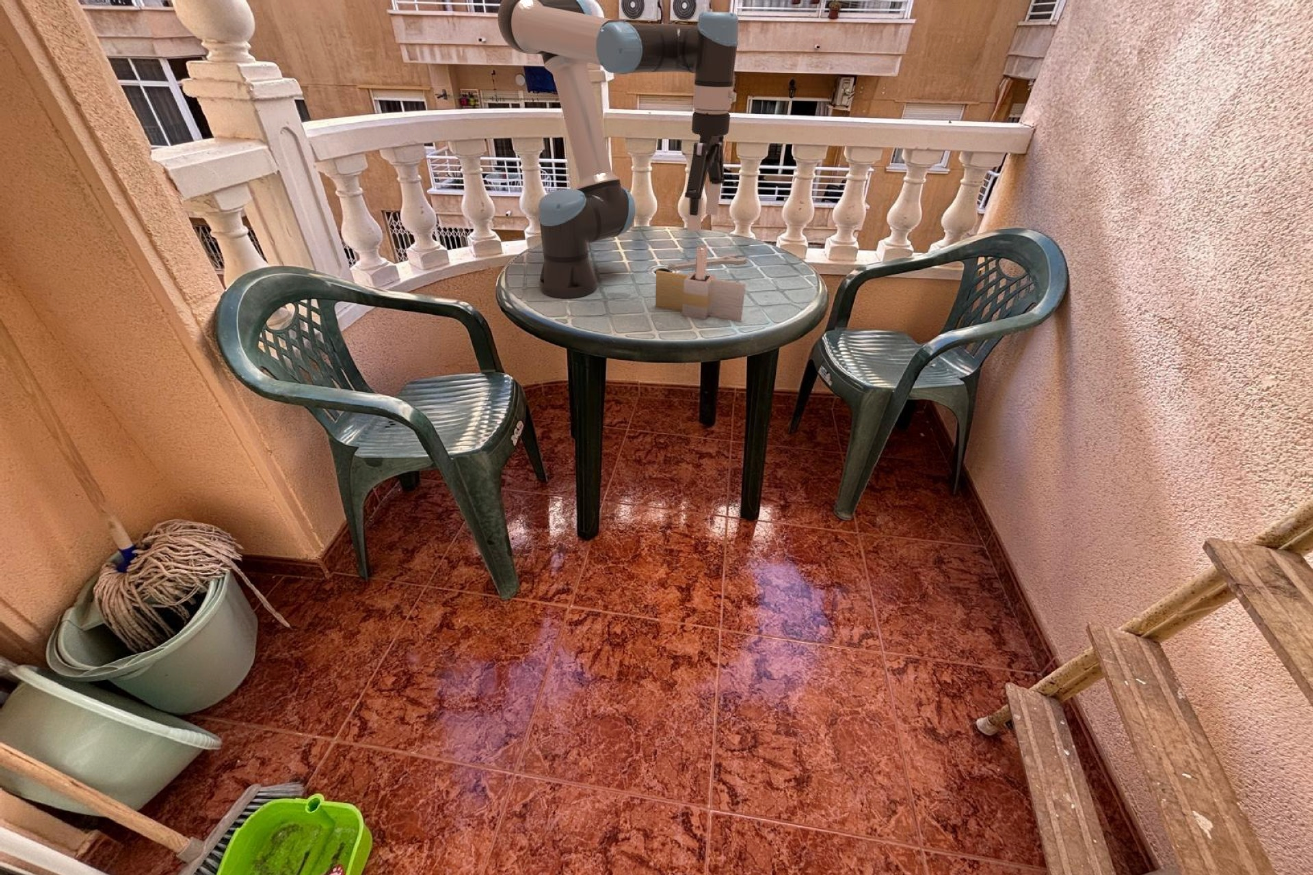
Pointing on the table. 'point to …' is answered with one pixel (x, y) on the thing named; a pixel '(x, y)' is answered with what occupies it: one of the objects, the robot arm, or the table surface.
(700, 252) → the hinge pin
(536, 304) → the table surface
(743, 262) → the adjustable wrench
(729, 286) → the hinge
